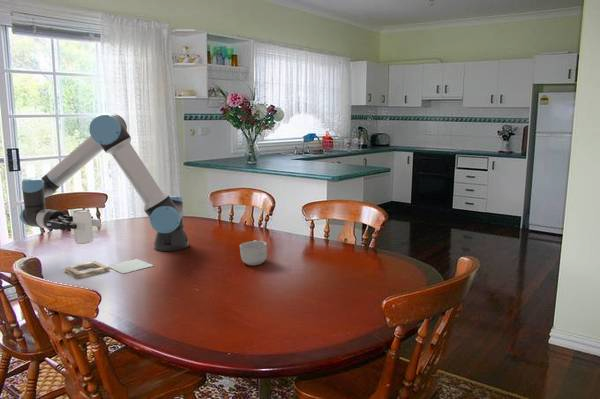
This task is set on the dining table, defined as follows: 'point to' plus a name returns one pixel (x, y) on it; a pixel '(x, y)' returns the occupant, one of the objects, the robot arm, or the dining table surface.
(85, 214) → the can
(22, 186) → the robot arm
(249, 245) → the teacup
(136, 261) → the mat
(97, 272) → the holder
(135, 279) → the dining table surface
